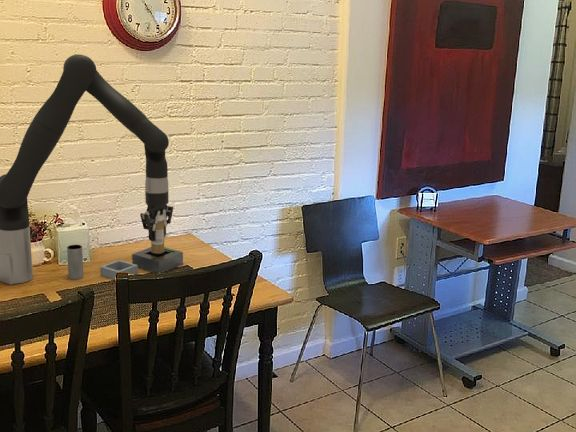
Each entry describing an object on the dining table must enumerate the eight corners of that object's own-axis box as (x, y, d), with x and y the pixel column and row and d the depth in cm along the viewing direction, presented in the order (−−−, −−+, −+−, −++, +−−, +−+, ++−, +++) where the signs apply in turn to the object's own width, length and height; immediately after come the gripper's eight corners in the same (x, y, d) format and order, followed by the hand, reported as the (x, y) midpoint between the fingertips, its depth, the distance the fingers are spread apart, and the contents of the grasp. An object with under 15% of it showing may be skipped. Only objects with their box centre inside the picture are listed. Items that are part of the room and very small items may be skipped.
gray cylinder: (79, 273, 209) (77, 243, 206) (86, 277, 206) (84, 247, 203) (66, 276, 206) (64, 246, 203) (72, 280, 203) (71, 250, 200)
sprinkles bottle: (165, 250, 220) (165, 212, 217) (163, 254, 216) (163, 216, 212) (152, 249, 220) (151, 212, 217) (149, 254, 216) (149, 215, 212)
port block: (159, 274, 212) (158, 260, 210) (132, 266, 217) (132, 253, 216) (182, 264, 222) (183, 251, 220) (156, 257, 227) (156, 244, 226)
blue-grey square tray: (119, 281, 204) (118, 272, 204) (100, 275, 208) (100, 266, 208) (137, 273, 211) (137, 265, 210) (119, 268, 215) (119, 259, 215)
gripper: (163, 184, 220) (163, 231, 225) (133, 191, 208) (134, 241, 213) (179, 187, 216) (179, 236, 221) (150, 195, 204) (151, 246, 209)
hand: (157, 238), depth 217 cm, fingers closed on sprinkles bottle, 4 cm apart
